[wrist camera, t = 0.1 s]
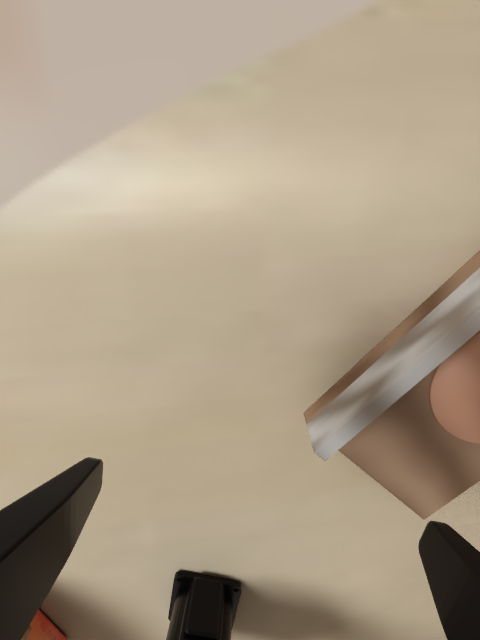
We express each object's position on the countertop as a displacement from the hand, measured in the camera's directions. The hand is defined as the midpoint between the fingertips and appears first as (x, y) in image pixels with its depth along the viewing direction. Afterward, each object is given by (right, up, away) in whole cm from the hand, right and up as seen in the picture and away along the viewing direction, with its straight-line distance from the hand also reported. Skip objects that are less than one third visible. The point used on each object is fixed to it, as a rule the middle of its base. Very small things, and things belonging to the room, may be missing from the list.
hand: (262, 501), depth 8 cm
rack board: (+16, +1, +14) cm, 22 cm away
